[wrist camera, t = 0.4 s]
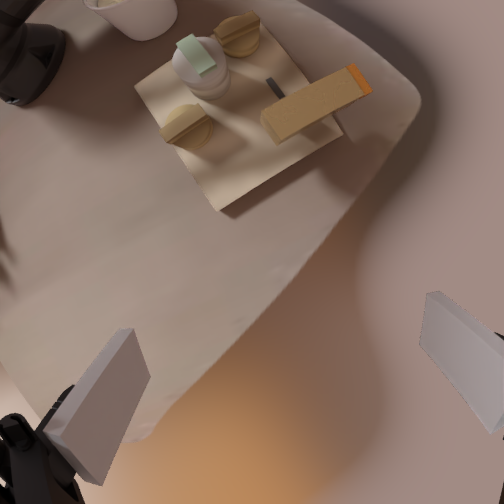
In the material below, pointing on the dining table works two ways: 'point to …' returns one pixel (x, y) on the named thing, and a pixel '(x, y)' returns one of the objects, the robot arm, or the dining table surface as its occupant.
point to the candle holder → (137, 16)
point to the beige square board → (229, 107)
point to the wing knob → (314, 103)
